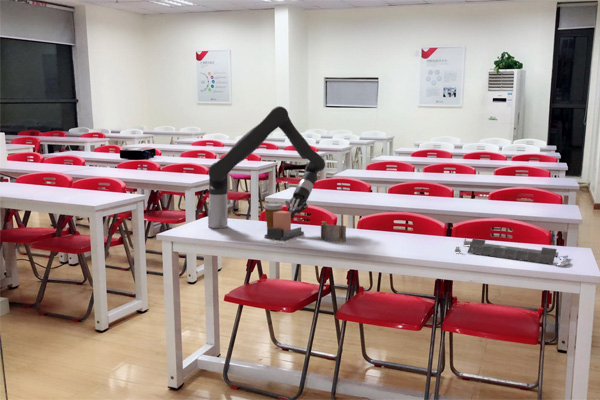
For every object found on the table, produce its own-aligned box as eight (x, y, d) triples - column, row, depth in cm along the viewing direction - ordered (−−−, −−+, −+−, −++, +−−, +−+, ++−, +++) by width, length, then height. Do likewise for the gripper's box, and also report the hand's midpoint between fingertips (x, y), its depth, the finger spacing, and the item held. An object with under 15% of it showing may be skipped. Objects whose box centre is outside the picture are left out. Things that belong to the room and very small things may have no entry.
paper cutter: (465, 245, 264) (466, 233, 263) (572, 259, 241) (573, 246, 240) (453, 253, 249) (454, 241, 248) (566, 269, 226) (567, 255, 225)
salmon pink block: (280, 231, 280) (280, 210, 278) (290, 232, 277) (290, 212, 275) (273, 233, 275) (273, 212, 273) (283, 234, 272) (283, 213, 270)
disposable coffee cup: (261, 228, 296) (261, 205, 295) (267, 224, 305) (267, 202, 304) (278, 229, 294) (279, 206, 292) (284, 226, 303) (285, 203, 301)
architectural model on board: (320, 241, 270) (320, 220, 269) (322, 239, 273) (322, 219, 271) (343, 243, 266) (344, 222, 264) (345, 242, 269) (346, 221, 267)
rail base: (285, 231, 288) (285, 222, 287) (303, 234, 282) (303, 224, 281) (264, 237, 274) (264, 227, 273) (283, 240, 268) (283, 230, 267)
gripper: (289, 184, 289) (275, 212, 281) (311, 186, 282) (297, 215, 274) (295, 194, 294) (281, 221, 286) (317, 196, 287) (303, 224, 279)
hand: (289, 218), depth 280 cm, fingers closed
